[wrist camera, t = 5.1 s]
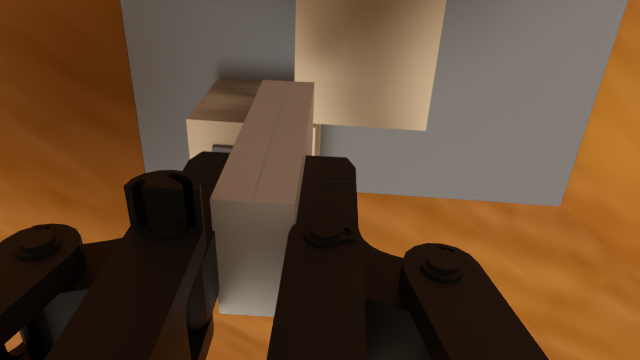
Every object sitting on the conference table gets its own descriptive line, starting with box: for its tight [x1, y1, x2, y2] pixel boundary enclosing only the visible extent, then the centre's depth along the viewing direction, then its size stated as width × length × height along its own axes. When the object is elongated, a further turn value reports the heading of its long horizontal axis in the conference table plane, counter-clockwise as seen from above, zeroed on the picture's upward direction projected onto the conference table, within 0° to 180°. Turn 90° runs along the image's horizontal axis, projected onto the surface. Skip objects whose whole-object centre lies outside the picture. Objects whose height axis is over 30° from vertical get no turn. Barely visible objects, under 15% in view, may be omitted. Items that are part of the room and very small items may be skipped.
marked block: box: [186, 79, 321, 159], centre depth 27 cm, size 6×6×6 cm
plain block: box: [294, 0, 446, 131], centre depth 24 cm, size 6×6×6 cm
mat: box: [120, 0, 628, 206], centre depth 27 cm, size 26×20×1 cm
